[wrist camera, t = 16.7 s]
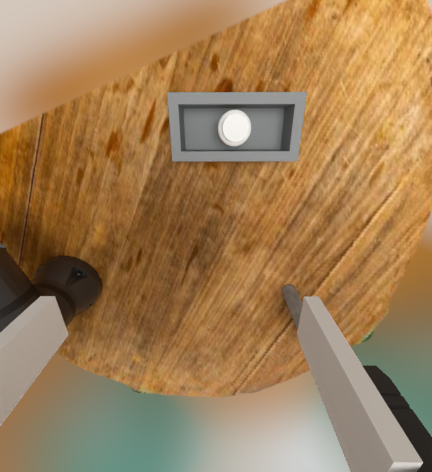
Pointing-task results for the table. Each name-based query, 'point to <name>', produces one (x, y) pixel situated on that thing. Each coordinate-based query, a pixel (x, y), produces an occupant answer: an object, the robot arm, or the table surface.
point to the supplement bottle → (234, 128)
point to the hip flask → (293, 302)
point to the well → (261, 117)
